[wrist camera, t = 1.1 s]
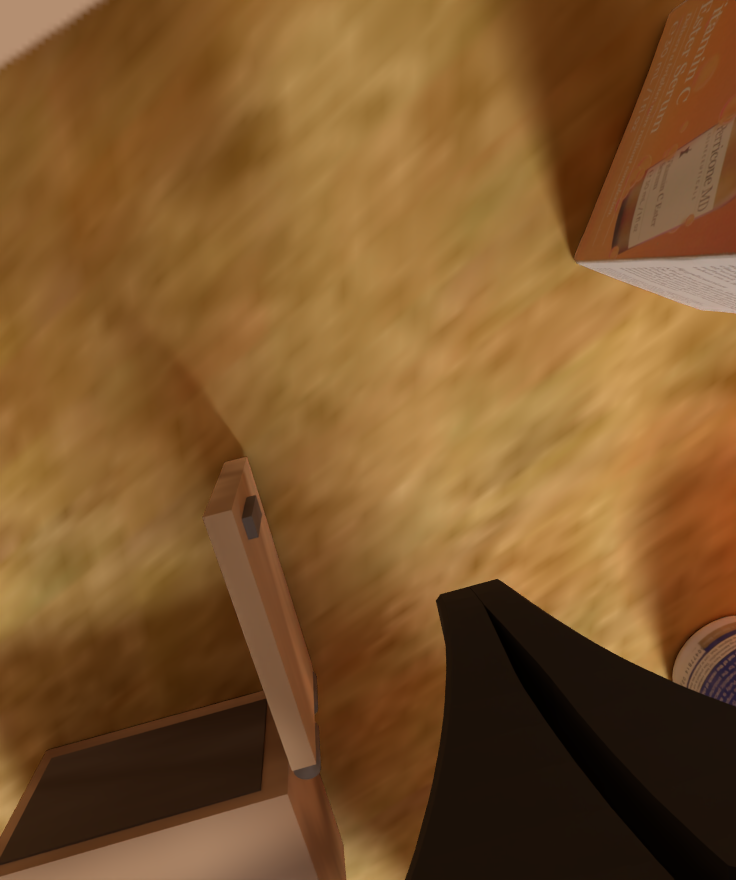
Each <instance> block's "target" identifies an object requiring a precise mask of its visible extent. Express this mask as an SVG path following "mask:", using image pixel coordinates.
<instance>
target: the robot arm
mask: <svg viewBox="0 0 736 880" xmlns="http://www.w3.org/2000/svg"><path fill="white" fill-rule="evenodd" d="M436 603H437V607H438V612H439V616H440V621H441V626H442V630H443V635H444V640H445V644H446V690H445V706H444V717H443V725H442V733H441V740H440V747H439V752H438V758H437V763H436V768H435V774H434V779H433V784H432V788H431V793H430V797H429V801H428V805H427V808H426V812H425V816H424V819H423V823H422V827H421V830H420V834H419V838H418V841H417V845H416V849H415V852H414V855H413V858H412V861H411V864H410V867H409V870H408V873H407V876H406V879H405V880H736V706H733V705H730V704H728V703H725V702H722V701H720V700H717V699H714V698H712V697H709V696H707V695H704V694H701V693H699V692H696V691H694V690H691V689H689V688H686V687H684V686H682V685H679V684H677V683H674V682H672V681H670V680H668V679H666V678H663V677H661V676H659V675H657V674H655V673H653V672H650V671H648V670H646V669H644V668H642V667H640V666H637V665H635V664H633V663H631V662H629V661H627V660H625V659H623V658H621V657H620V656H618V655H616V654H614V653H612V652H610V651H609V650H607V649H605V648H603V647H601V646H599V645H598V644H596V643H594V642H592V641H591V640H589V639H587V638H586V637H584V636H582V635H581V634H579V633H577V632H576V631H574V630H573V629H571V628H570V627H568V626H566V625H565V624H563V623H562V622H560V621H558V620H557V619H555V618H554V617H552V616H551V615H549V614H548V613H546V612H545V611H543V610H542V609H540V608H539V607H537V606H536V605H534V604H533V603H531V602H530V601H529V600H527V599H526V598H524V597H523V596H522V595H520V594H519V593H517V592H516V591H514V590H513V589H512V588H510V587H509V586H507V585H506V584H505V583H503V582H502V581H500V580H498V579H495V580H492V581H488V582H484V583H481V584H477V585H473V586H470V587H466V588H462V589H459V590H455V591H451V592H447V593H444V594H440V596H439V597H438V599H437V600H436Z"/></svg>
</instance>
